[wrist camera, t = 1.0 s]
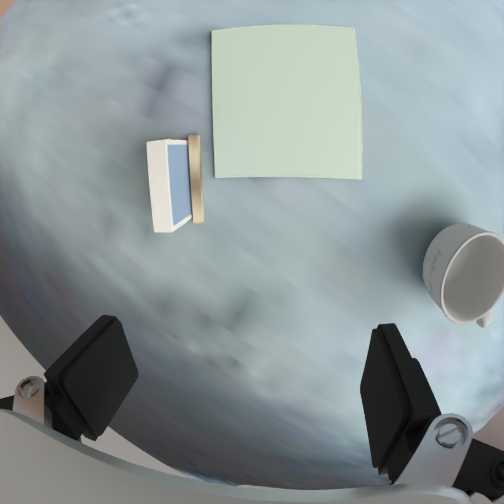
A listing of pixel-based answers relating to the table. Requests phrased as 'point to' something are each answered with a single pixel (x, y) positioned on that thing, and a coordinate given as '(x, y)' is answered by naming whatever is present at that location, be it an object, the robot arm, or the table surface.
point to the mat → (286, 102)
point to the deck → (169, 183)
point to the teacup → (465, 272)
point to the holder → (195, 177)
